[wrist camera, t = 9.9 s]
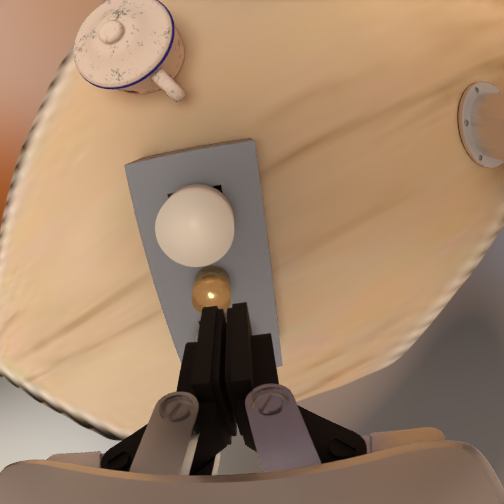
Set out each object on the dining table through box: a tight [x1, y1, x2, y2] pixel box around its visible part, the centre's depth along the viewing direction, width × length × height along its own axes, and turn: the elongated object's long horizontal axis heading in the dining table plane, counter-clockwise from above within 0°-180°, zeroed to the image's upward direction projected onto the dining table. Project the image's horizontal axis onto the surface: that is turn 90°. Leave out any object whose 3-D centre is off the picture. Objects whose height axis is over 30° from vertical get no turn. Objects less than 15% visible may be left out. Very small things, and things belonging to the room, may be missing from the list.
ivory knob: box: [155, 184, 234, 267], centre depth 29 cm, size 6×6×9 cm
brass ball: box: [191, 266, 231, 314], centre depth 30 cm, size 4×4×4 cm
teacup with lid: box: [74, 0, 186, 102], centre depth 22 cm, size 12×9×12 cm
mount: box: [124, 138, 282, 367], centre depth 34 cm, size 12×26×6 cm, turn 8°
